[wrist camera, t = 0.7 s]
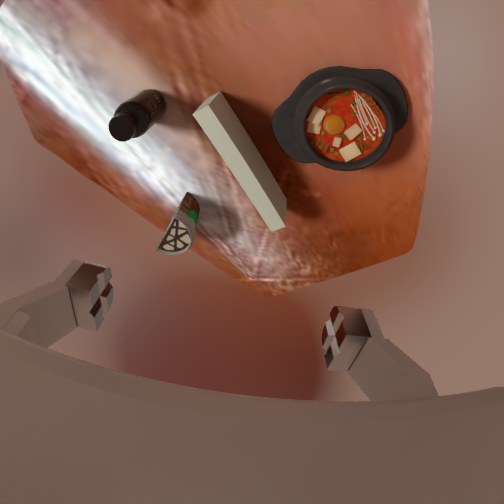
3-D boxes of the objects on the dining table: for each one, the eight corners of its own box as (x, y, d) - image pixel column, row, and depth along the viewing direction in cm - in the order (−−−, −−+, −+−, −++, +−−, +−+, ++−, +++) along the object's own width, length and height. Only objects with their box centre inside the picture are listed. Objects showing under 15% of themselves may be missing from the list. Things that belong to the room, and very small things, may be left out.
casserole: (383, 45, 37) (400, 51, 31) (415, 136, 48) (431, 155, 42) (253, 96, 47) (247, 110, 41) (299, 177, 58) (300, 201, 52)
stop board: (220, 91, 47) (208, 105, 41) (286, 199, 62) (285, 226, 56) (206, 99, 48) (192, 114, 42) (273, 203, 63) (271, 231, 57)
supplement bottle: (135, 86, 47) (103, 106, 38) (168, 91, 47) (141, 111, 39) (133, 118, 52) (103, 144, 43) (164, 123, 52) (138, 150, 44)
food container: (191, 234, 72) (179, 265, 65) (168, 223, 70) (155, 252, 63) (214, 200, 64) (204, 230, 57) (189, 187, 62) (175, 215, 55)
